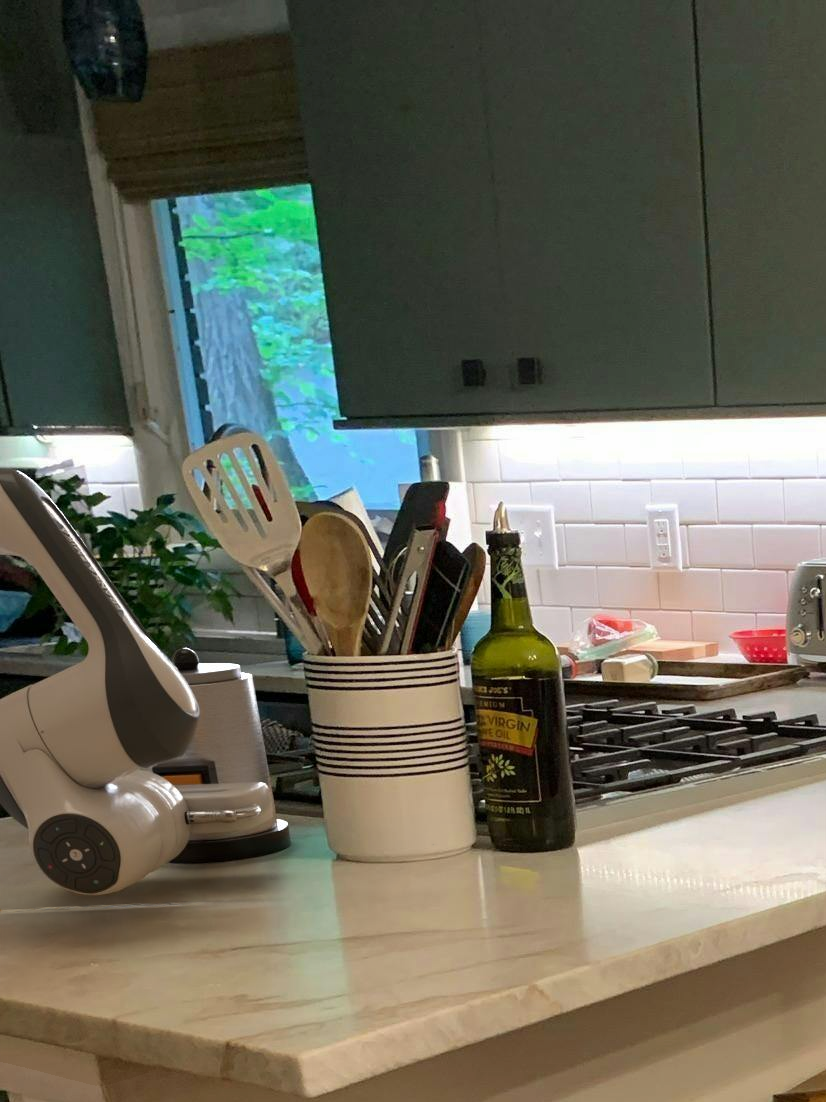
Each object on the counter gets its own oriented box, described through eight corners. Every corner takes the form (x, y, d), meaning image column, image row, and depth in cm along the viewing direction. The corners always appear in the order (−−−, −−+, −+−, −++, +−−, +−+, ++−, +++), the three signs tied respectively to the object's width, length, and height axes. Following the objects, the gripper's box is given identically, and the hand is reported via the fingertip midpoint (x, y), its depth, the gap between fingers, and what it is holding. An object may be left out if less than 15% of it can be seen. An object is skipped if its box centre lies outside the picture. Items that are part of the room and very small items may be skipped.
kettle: (269, 861, 194) (232, 653, 186) (127, 868, 193) (84, 659, 185) (311, 828, 210) (279, 636, 202) (180, 834, 209) (143, 641, 201)
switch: (205, 812, 191) (198, 775, 189) (168, 814, 191) (161, 776, 189) (210, 809, 193) (203, 772, 191) (174, 810, 192) (167, 774, 191)
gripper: (245, 781, 177) (284, 758, 189) (17, 790, 176) (71, 766, 188) (257, 850, 179) (294, 823, 192) (33, 859, 178) (85, 831, 191)
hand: (182, 795), depth 190 cm, fingers closed, pressing on switch
